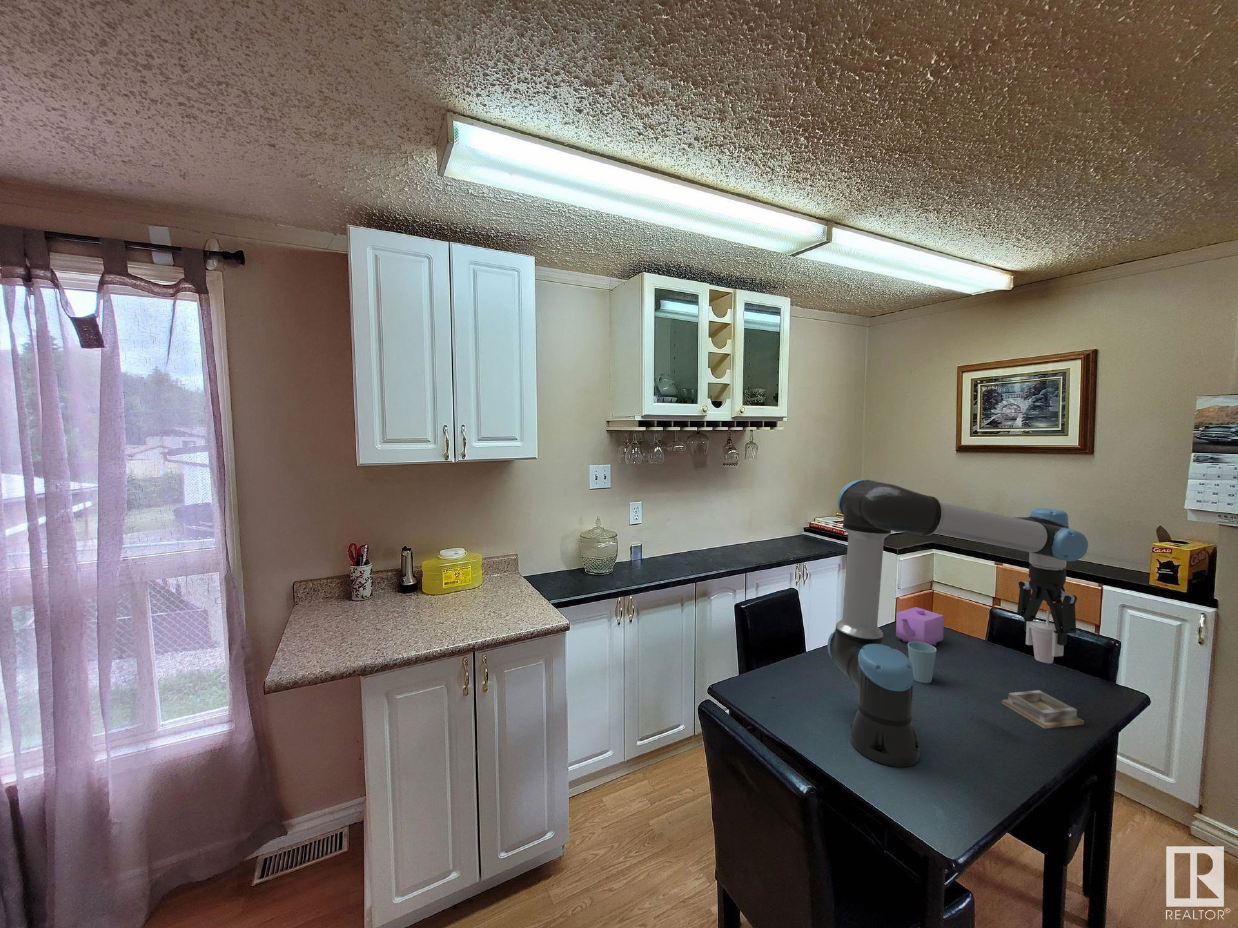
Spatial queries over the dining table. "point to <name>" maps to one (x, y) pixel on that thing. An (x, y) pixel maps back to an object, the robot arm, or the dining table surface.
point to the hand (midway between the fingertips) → (1044, 649)
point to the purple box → (919, 626)
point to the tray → (1043, 709)
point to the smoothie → (1042, 639)
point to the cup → (922, 660)
